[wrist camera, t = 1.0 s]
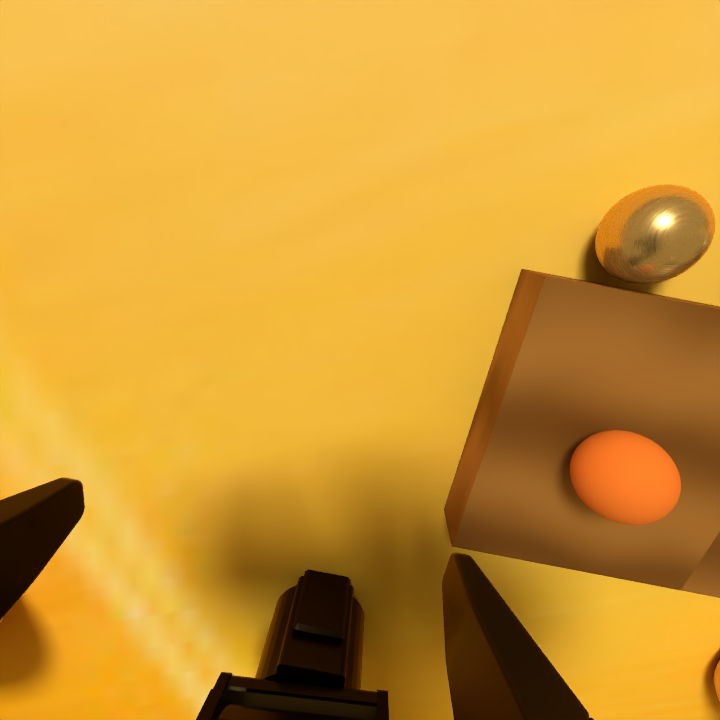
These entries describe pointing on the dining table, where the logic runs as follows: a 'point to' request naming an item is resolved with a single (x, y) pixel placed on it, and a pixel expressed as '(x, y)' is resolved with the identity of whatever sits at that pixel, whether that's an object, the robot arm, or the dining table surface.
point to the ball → (625, 477)
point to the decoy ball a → (655, 234)
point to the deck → (594, 431)
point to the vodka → (717, 679)
